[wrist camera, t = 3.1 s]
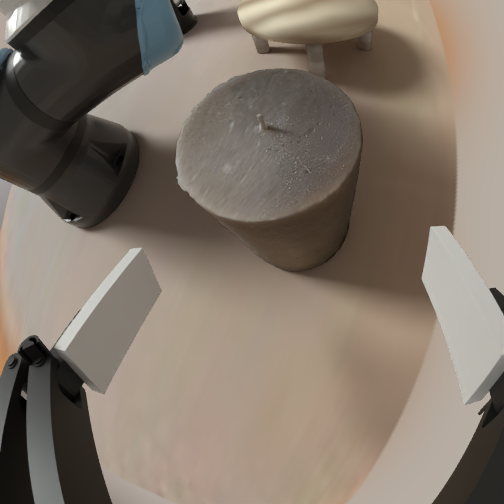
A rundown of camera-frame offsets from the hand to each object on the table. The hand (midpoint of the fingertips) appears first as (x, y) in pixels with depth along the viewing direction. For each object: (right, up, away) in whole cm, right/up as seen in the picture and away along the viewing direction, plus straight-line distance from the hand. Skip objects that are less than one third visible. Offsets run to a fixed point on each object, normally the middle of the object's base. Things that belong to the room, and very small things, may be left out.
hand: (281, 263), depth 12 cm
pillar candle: (+3, +4, +14) cm, 14 cm away
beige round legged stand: (+7, +28, +18) cm, 34 cm away
